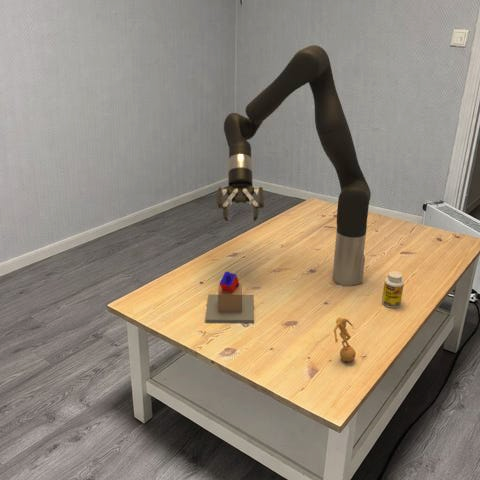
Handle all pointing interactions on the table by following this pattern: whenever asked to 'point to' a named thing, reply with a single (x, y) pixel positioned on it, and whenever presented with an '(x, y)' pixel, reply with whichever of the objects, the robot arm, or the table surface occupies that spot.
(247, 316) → the plate
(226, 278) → the toy building block
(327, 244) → the table surface
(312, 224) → the table surface
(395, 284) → the supplement bottle
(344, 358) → the figurine
